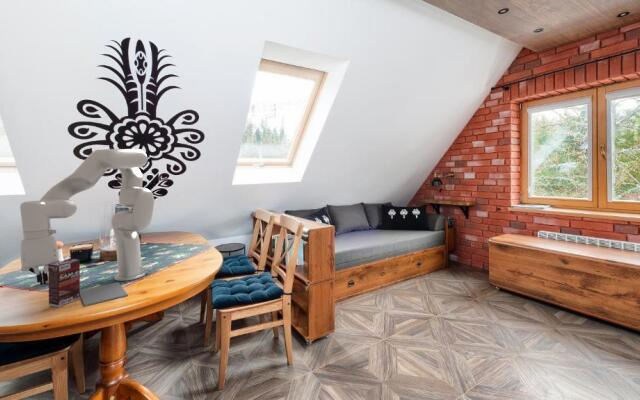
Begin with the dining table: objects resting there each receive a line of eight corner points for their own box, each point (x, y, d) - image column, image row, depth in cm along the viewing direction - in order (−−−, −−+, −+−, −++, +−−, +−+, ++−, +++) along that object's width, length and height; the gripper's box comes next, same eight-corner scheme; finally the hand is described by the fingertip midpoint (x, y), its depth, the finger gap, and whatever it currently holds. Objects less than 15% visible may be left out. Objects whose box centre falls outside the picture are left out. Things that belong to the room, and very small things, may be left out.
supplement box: (58, 307, 115) (57, 266, 113) (48, 305, 116) (47, 264, 114) (81, 298, 123) (80, 259, 121) (71, 296, 124) (70, 257, 122)
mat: (118, 283, 139) (118, 281, 139) (127, 295, 125) (127, 294, 125) (78, 291, 130) (78, 290, 130) (84, 306, 115) (84, 305, 115)
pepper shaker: (59, 283, 140) (55, 241, 139) (42, 283, 140) (38, 242, 138) (71, 277, 148) (67, 238, 146) (54, 278, 147) (50, 238, 145)
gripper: (63, 230, 121) (68, 276, 123) (9, 236, 111) (15, 286, 113) (64, 233, 115) (69, 281, 117) (7, 239, 105) (14, 292, 107)
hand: (43, 283), depth 115 cm, fingers closed
